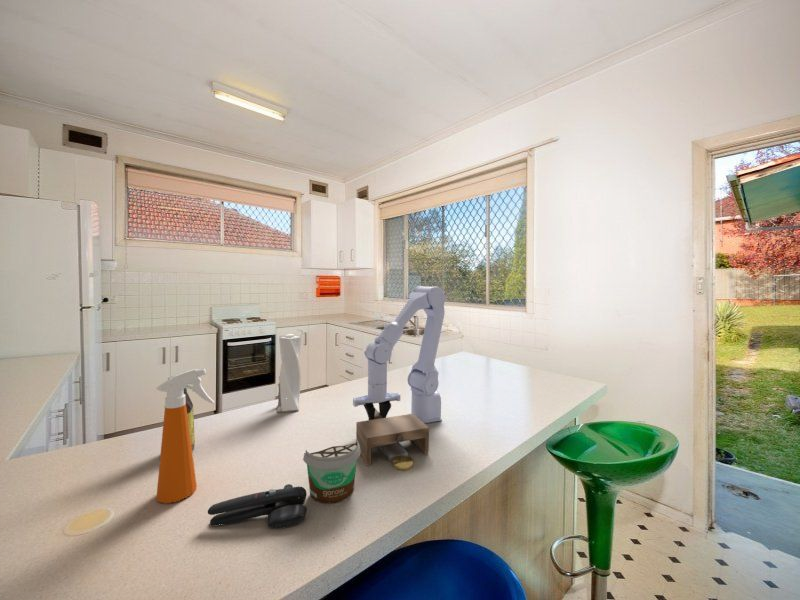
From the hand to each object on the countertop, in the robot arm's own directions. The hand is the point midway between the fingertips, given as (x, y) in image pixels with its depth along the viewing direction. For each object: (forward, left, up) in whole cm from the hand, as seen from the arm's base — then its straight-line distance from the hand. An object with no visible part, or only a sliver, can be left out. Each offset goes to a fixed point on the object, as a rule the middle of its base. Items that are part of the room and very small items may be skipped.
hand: (376, 426), depth 101 cm
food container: (+18, +27, -2) cm, 32 cm away
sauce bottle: (+52, -6, -2) cm, 52 cm away
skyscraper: (+23, -27, -2) cm, 36 cm away
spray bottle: (+47, +14, -2) cm, 49 cm away
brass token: (0, +20, -2) cm, 20 cm away
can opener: (+33, +28, -2) cm, 43 cm away
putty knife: (0, +7, -1) cm, 7 cm away
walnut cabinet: (0, +13, -1) cm, 13 cm away
